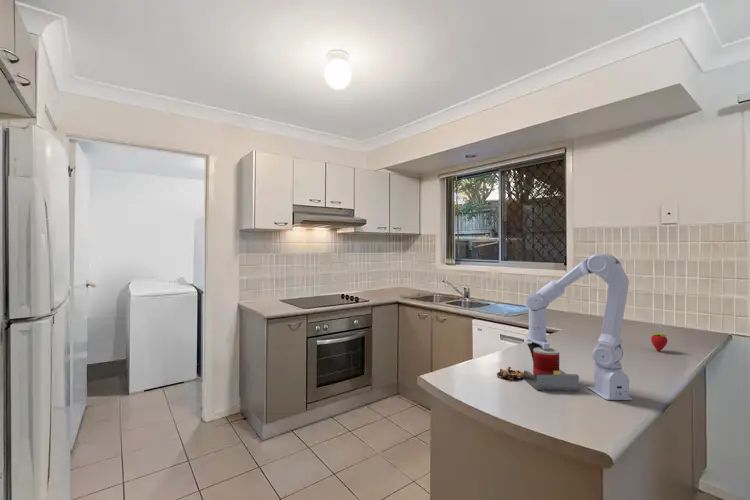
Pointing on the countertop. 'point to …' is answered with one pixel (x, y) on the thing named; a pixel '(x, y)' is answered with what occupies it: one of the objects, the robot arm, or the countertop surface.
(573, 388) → the coupler bay
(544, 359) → the canned food
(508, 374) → the brown jagged clump
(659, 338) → the strawberry
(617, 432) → the countertop surface
